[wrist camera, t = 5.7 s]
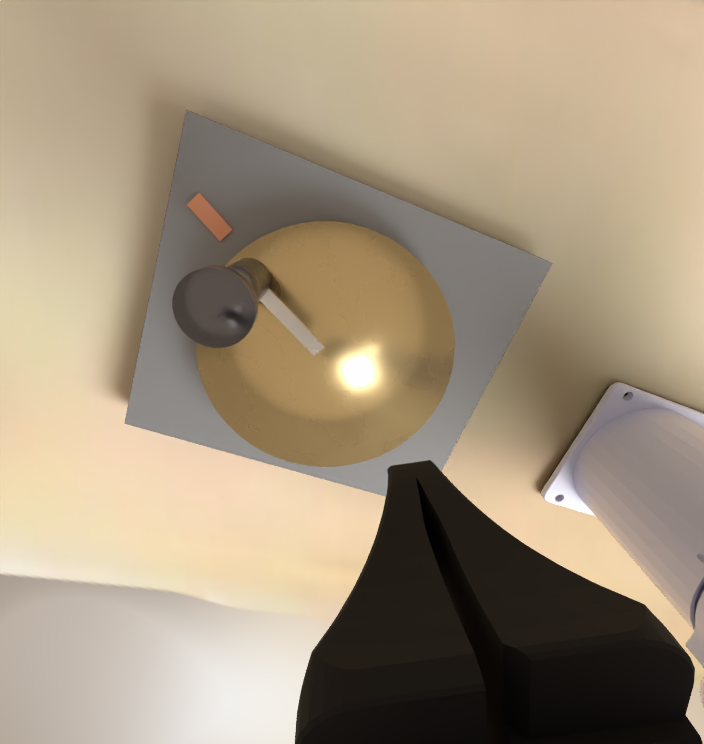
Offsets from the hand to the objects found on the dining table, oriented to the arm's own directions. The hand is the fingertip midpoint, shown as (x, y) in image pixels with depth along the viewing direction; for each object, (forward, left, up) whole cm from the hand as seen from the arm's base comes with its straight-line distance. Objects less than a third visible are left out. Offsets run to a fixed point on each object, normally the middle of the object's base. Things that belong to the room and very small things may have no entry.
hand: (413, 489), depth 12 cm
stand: (+3, -1, -9) cm, 10 cm away
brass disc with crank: (+3, -1, -8) cm, 9 cm away
